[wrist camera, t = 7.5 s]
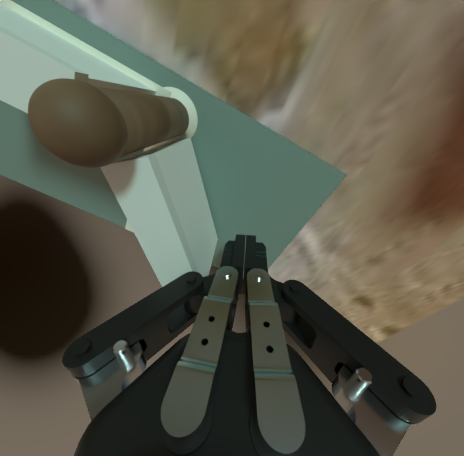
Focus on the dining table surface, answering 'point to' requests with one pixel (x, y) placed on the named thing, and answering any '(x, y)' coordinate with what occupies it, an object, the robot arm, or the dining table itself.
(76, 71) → the panel
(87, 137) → the brown rounded rod
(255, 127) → the board
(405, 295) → the dining table surface
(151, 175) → the panel
